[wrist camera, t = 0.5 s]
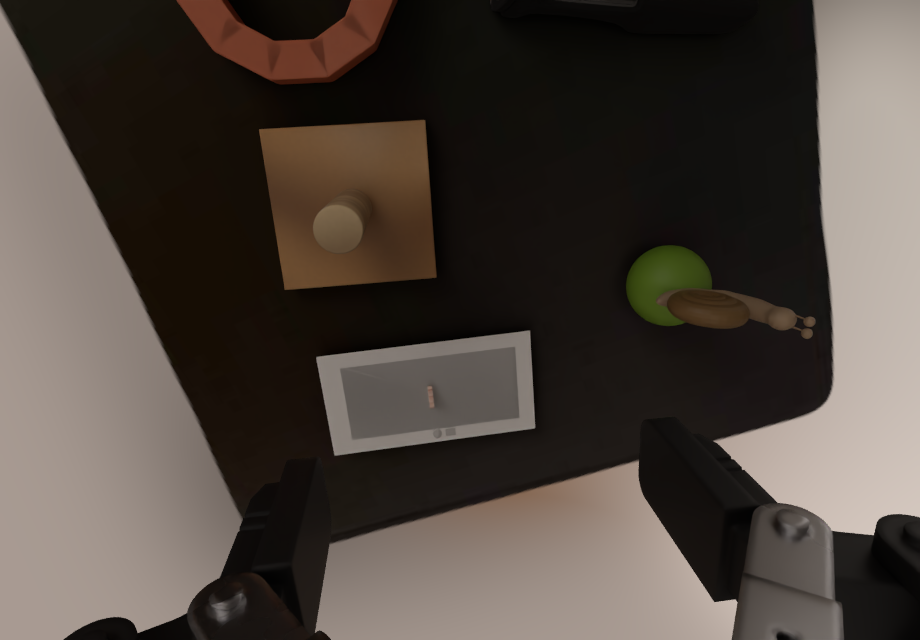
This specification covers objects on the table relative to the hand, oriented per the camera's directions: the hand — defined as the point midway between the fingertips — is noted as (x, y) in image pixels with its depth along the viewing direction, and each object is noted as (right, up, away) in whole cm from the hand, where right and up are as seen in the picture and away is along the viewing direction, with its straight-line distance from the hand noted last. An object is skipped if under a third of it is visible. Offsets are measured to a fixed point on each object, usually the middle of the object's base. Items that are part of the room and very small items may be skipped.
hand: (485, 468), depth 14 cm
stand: (-8, +11, +23) cm, 26 cm away
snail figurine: (+14, +7, +27) cm, 31 cm away
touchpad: (-3, -1, +27) cm, 28 cm away
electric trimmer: (+9, +24, +21) cm, 32 cm away
